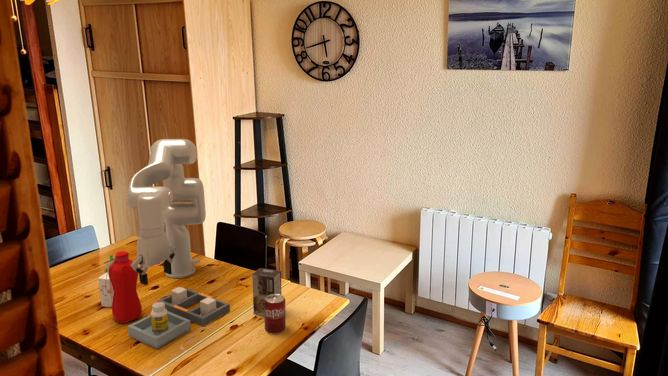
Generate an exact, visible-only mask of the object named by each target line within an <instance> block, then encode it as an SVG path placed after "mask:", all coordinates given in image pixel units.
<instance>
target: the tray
mask: <svg viewBox="0 0 668 376" xmlns="http://www.w3.org/2000/svg"><path fill="white" fill-rule="evenodd" d="M167 312H168V330H167V331H166V332H164V333H162V334H155V333H153V332H152V322H151V314H149V315H147V316H146V317H143V318H142V319H138V321H135V322H133V323H132V324H129V325H127V329H128V330H127V332H128V337H130V338H132V339H134V340H136V341H139V342H140V343H143V344H145V345H147V346H149V347H151V348H153V349H155V350H159V349H161V348H162V347H164V346H166V345H168V344H169V343H171V342H173V341H174V340H176V339H178V338H180V337H181V336H183V335H185V334H187V333H189V332H190V331H192V324H191V321H190V320H188V319H186V318H183V317H181V316H178V315H176V314H174V313H171V312H169V311H167Z"/></svg>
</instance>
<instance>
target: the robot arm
mask: <svg viewBox="0 0 668 376" xmlns="http://www.w3.org/2000/svg"><path fill="white" fill-rule="evenodd" d="M197 149H198V148H197V147H196V144H195V143H194V142H193V141H192V140H190V139H188V138H187V139H186V138H163V139H158V140H156V141H155V142H154V143H153V144H152V145H151V146H150V153H149V154H150V155H149V159H148V163H147V164H148V165H146V166H145V167H143V168H141V169H140V170H139V171H138V172H136V173H135V174H134V175H133V176H132V177H131V179H130V181H129V185H128V188H127V192H126V202H127V205H128V207H129V208H130V209H132V210H137V214H138V215H137V216H138V225H139V227H138V228H139V235H140V236H138V237H137V242H136V258H135V259H134V260H133V263H132V264H131V267H132V268H133V269H134V271H136V272H137V273H138V277H139V283H140V284H141V285H144V286H147V285H149V279H148V274H147V271H148V270H149V268H150V267H153V266H156V265H158V264H160V263H163V272H164V273H165V276H166V277H168V278H172V279H181V278H186V277H189V276H192V275H193V274H195V272H196V267H195V266H194V265H195V264H198V263H200V258H198V257H197V258H192V256H191V255H192V254H191V252H192V250H191V240H190V239H191V235H190V231H189V230H188V229H187V227H186V226H185V225H189V226H190V225H200V224H203V223H204V222H205V221H206V215H207V214H206V203H205V202H206V201H205V198H206V197H205V189H204V188H205V186H204V185H203V184H204V183H203V181H202V180H201V179H200V178H197V177H185V171H184V166H183V165H192V164H194V163H196V161H197V156H198V150H197ZM160 182H162V185H163V186H152V185H155V184H158V183H160Z"/></svg>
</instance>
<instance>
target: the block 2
mask: <svg viewBox="0 0 668 376" xmlns="http://www.w3.org/2000/svg"><path fill="white" fill-rule="evenodd" d="M199 305H200V311H201V314H200V316H205V315H207V314H208V313H210V312H212V311H214V310H216V309H217V308H216V300H214V299H212V298H209V297H207V298H205V299H204V300H202V301H200V302H199Z"/></svg>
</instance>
